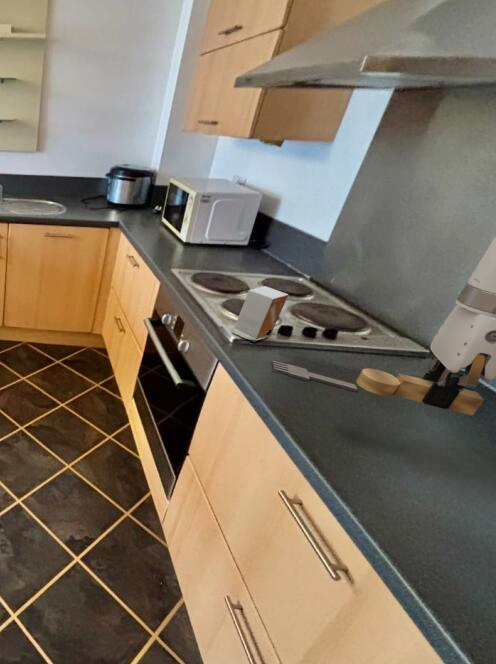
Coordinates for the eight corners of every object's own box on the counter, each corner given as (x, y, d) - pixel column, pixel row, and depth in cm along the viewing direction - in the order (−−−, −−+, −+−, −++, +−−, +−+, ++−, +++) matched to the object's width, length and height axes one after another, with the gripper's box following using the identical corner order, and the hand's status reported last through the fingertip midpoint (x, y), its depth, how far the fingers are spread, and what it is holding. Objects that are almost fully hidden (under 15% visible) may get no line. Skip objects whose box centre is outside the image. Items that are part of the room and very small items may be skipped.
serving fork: (352, 384, 94) (354, 381, 94) (357, 395, 90) (359, 392, 90) (271, 362, 100) (272, 359, 100) (272, 371, 97) (274, 368, 96)
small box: (254, 344, 109) (273, 298, 103) (231, 333, 113) (248, 289, 107) (270, 338, 113) (289, 294, 107) (247, 327, 117) (264, 285, 111)
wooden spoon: (462, 403, 70) (473, 387, 69) (476, 420, 66) (488, 404, 65) (353, 376, 77) (361, 361, 75) (359, 390, 73) (368, 375, 71)
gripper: (566, 329, 54) (483, 436, 62) (502, 290, 67) (440, 383, 75) (487, 315, 57) (418, 419, 65) (440, 280, 70) (388, 371, 78)
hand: (430, 399), depth 70 cm, fingers closed on wooden spoon, 2 cm apart
